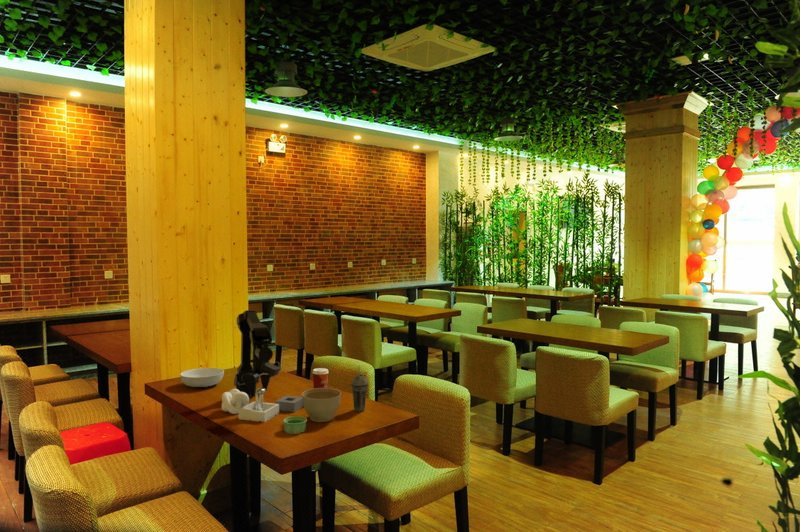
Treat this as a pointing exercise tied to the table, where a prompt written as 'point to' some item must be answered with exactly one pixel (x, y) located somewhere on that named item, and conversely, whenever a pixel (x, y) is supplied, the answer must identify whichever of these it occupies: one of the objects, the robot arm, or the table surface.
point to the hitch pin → (259, 399)
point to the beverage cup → (359, 391)
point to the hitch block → (290, 403)
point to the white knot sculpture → (234, 401)
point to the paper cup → (320, 377)
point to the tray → (258, 412)
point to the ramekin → (295, 424)
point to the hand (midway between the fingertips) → (259, 393)
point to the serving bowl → (202, 377)
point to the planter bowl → (321, 403)
